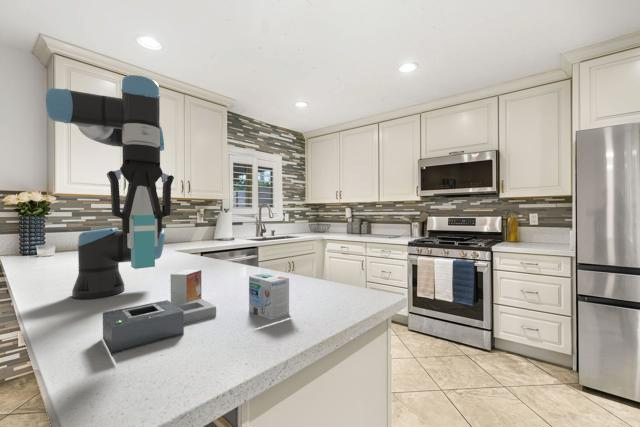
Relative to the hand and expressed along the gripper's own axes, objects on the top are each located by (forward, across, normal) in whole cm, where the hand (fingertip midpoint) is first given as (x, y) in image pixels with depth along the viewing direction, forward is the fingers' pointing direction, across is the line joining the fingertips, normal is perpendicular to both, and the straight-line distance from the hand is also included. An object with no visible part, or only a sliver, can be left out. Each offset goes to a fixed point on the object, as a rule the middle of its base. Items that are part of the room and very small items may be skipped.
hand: (142, 246), depth 70 cm
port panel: (+21, 0, 0) cm, 21 cm away
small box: (+21, +16, +18) cm, 32 cm away
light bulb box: (+22, +30, -7) cm, 38 cm away
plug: (+5, 0, 0) cm, 5 cm away
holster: (+21, +13, +6) cm, 26 cm away
